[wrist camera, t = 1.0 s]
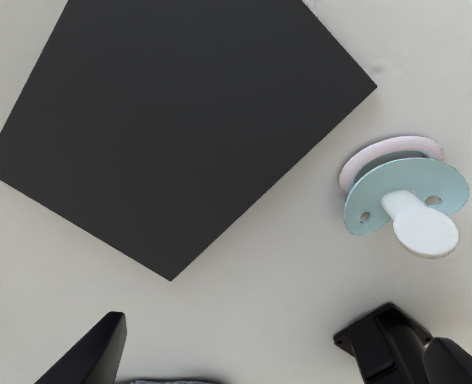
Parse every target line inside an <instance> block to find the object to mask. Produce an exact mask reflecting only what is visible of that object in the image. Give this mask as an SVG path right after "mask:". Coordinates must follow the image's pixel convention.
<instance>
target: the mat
mask: <svg viewBox="0 0 472 384" xmlns="http://www.w3.org/2000/svg"><path fill="white" fill-rule="evenodd" d="M376 88H377V85H376V84H375V83H374V82H373V81H372V80H371V78H370V77H369V76H368V75H367V74H366V73H365V72H364V70H363V69H362V68H361V67H360V66H359V65H358V64H357V63H356V61H355V60H354V59H353V58H352V57H351V56H350V55H349V54H348V52H347V51H346V50H345V49H344V48H343V47H342V46H341V44H340V43H339V42H338V41H337V40H336V39H335V38H334V37H333V35H332V34H331V33H330V32H329V31H328V30H327V29H326V28H325V26H324V25H323V24H322V23H321V22H320V21H319V20H318V18H317V17H316V16H315V15H314V14H313V13H312V12H311V11H310V9H309V8H308V7H307V6H306V5H305V4H304V3H303V2H302V0H68V2H67V4H66V6H65V8H64V10H63V12H62V14H61V16H60V18H59V20H58V22H57V23H56V25H55V27H54V29H53V31H52V33H51V35H50V37H49V39H48V41H47V43H46V45H45V47H44V49H43V51H42V53H41V55H40V57H39V59H38V61H37V63H36V64H35V66H34V68H33V70H32V72H31V74H30V76H29V78H28V80H27V82H26V84H25V86H24V88H23V90H22V92H21V94H20V96H19V98H18V100H17V102H16V103H15V105H14V107H13V109H12V111H11V113H10V115H9V117H8V119H7V121H6V123H5V125H4V127H3V129H2V131H1V133H0V180H1V181H3V182H5V183H6V184H8V185H10V186H11V187H13V188H15V189H16V190H18V191H20V192H21V193H23V194H25V195H26V196H28V197H30V198H31V199H33V200H35V201H37V202H38V203H40V204H42V205H43V206H45V207H47V208H48V209H50V210H52V211H53V212H55V213H57V214H58V215H60V216H62V217H63V218H65V219H67V220H68V221H70V222H72V223H73V224H75V225H77V226H78V227H80V228H82V229H83V230H85V231H87V232H88V233H90V234H92V235H93V236H95V237H97V238H98V239H100V240H102V241H103V242H105V243H107V244H109V245H110V246H112V247H114V248H115V249H117V250H119V251H120V252H122V253H124V254H125V255H127V256H129V257H130V258H132V259H134V260H135V261H137V262H139V263H140V264H142V265H144V266H145V267H147V268H149V269H150V270H152V271H154V272H155V273H157V274H159V275H160V276H162V277H164V278H165V279H167V280H169V281H172V280H173V279H174V278H175V277H176V276H177V275H178V274H179V273H180V272H182V271H183V270H184V269H185V268H186V267H187V266H188V265H189V264H190V263H191V262H192V261H193V260H194V259H195V258H196V257H197V256H199V255H200V254H201V253H202V252H203V251H204V250H205V249H206V248H207V247H208V246H209V245H210V244H211V243H212V242H213V241H214V240H216V239H217V238H218V237H219V236H220V235H221V234H222V233H223V232H224V231H225V230H226V229H227V228H228V227H229V226H230V225H231V224H232V223H234V222H235V221H236V220H237V219H238V218H239V217H240V216H241V215H242V214H243V213H244V212H245V211H246V210H247V209H248V208H249V207H251V206H252V205H253V204H254V203H255V202H256V201H257V200H258V199H259V198H260V197H261V196H262V195H263V194H264V193H265V192H266V191H268V190H269V189H270V188H271V187H272V186H273V185H274V184H275V183H276V182H277V181H278V180H279V179H280V178H281V177H282V176H283V175H284V174H286V173H287V172H288V171H289V170H290V169H291V168H292V167H293V166H294V165H295V164H296V163H297V162H298V161H299V160H300V159H301V158H303V157H304V156H305V155H306V154H307V153H308V152H309V151H310V150H311V149H312V148H313V147H314V146H315V145H316V144H317V143H318V142H320V141H321V140H322V139H323V138H324V137H325V136H326V135H327V134H328V133H329V132H330V131H331V130H332V129H333V128H334V127H335V126H337V125H338V124H339V123H340V122H341V121H342V120H343V119H344V118H345V117H346V116H347V115H348V114H349V113H350V112H351V111H352V110H353V109H355V108H356V107H357V106H358V105H359V104H360V103H361V102H362V101H363V100H364V99H365V98H366V97H367V96H368V95H369V94H370V93H372V92H373V91H374V90H375V89H376Z"/></svg>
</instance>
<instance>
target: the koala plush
mask: <svg viewBox="0 0 472 384" xmlns="http://www.w3.org/2000/svg"><path fill="white" fill-rule="evenodd" d="M130 384H211V383H204V382H198V381H193V382H192V381H177V382H168V383H167V382H164V383H157V382H150V381H146V380H145V381H143V380H141V381H136V382H135V383H133V382H131V383H130ZM213 384H216V383H213Z"/></svg>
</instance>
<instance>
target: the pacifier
mask: <svg viewBox="0 0 472 384" xmlns="http://www.w3.org/2000/svg"><path fill="white" fill-rule="evenodd" d="M407 150H412V151H418V152H422V153H424V154H425V156H426V158H403V159H398V160H394V161H390V162H387V163H384V164H382V165H380V166H378V167H376V168H374V169H372V170H371V171H369V172H368V173H367V174H365V175H364V176H363V177H362V178H361V179H360V180H359V181H358V182H357V183H356V184H355V185H354V180H355V177H356V175H357V173H358V172H359V171H360V170H361V168H362V167H363V166H365V165H366V164H368V163H369V162H370V161H372V160H374V159H376V158H378V157H380V156H382V155H385V154H388V153H391V152H397V151H407ZM443 159H444V155H443V150H442V148H441V147H440V146H439V145H438V143H437V142H435V141H433V140H431V139H429V138H424V137H419V136H400V137H395V138H390V139H386V140H383V141H380V142H377V143H374V144H372V145H370V146H368V147H367V148H365V149H363V150H361V151H360V152H358V153H357V154H356V155H354V156H353V157H352V158H351V159H350V160H349V161H348V162H347V163H346V164H345V166H344V167H343V169H342V171H341V174H340V178H339V184H340V186H341V189H342V190H343V191H344V192H345V193H346V194H347V195H348V197H347V200H346V203H345V207H344V215H343V218H344V223H345V226H346V228H347V230H348V231H349V232H350V233H351V234H352V235H356V236H362V235H366V234H369V233H371V232H374V231H375V230H377V229H379V228H380V227H382V226H383V225H384V224H386V223H387V222H388V221H389V220H390V219H392V221H393V230H394V234H395V236H396V239H397V240H398V242H399V243H400V245H401V246H402V247H403V248H404V249H406V250H407V251H408V252H410V253H411V254H413V255H415V256H418V257H421V258H426V259H437V258H441V257H444V256H446V255H448V254H450V253H451V252H452V251H453V250H454V249H455V248H456V246H457V244H458V241H459V231H458V228H457V226H456V225H455V223H454V222H453V221H452V220H451V219H450V218H449V217H448V216H447V215H449V214H452V213H454V212H456V211H458V210H459V209H460V208H462V207H463V206H464V204H465V203H466V202H467V200H468V197H469V188H468V184H467V182H466V180H465V179H464V177H463V176H462V175H461V174H460V173H459V172H458V171H457V170H456V169H455V168H453V167H451V166H450V165H448V164H446V163H444V162H443ZM430 196H437V197H439V199H440V200H439V202H438V203H437V204H435V205H427V204H425V200H426V198H428V197H430ZM364 212H369V217H368V219H367V220H365V221H364V222H360V217H361V215H362V214H363V213H364Z"/></svg>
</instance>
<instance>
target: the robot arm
mask: <svg viewBox="0 0 472 384" xmlns="http://www.w3.org/2000/svg"><path fill="white" fill-rule="evenodd" d="M126 336H127V327H126V318H125V314H124V313H123V312H113V311H112V312H109V313H107V314H106V315H105V316H104V317H103V318H102V319H101V320H100V321H99V322H98V323H97V324H96V325H95V326H94V327H93V328H92V329H91V330H90V331H89V332H88V333H86V334H85V335H84V336H83V337H82V338H81V339H80V340H79V341H78V342H77V343H76V344H75V345H74V346H73V347H72V348H71V349H70V350H69V351H68V352H67V353H66V354H65V355H64V356H62V357H61V358H60V359H59V360H58V361H57V362H56V363H55V364H54V365H53V366H52V367H51V368H50V369H49V370H48V371H47V372H46V373H45V374H44V375H43V376H42V377H41V378H40V379H39V380H37V381H36V382H35V383H34V384H114V382H115V378H116V374H117V370H118V367H119V363H120V359H121V356H122V352H123V348H124V345H125V341H126ZM333 340H334V344H335V345H337V346H338V347H340V348H341V349H343V350H344V351H346V352H347V353H349V354H350V355H352V356H353V357H355V358H356V361H357V364H358V367H359V370H360V373H361V376H362V379H363V382H364V384H472V356H471V355H469V354H468V353H467V352H466V351H465V350H463V349H462V348H461V347H460V346H459V345H457V344H456V343H455V342H454V341H452V340H451V339H449V338H442V337H435V338H433V336H432V335H431V333H430V332H429V331H427V330H426V329H425V328H423V327H422V326H421V325H420V324H418V323H417V322H416V321H415V320H413V319H412V318H411V317H410V316H408V315H407V314H406V313H404V312H403V311H402V310H401V309H399V308H398V307H397V306H396V305H394V304H392V303H389V304H386V305H384V306H383V307H381V308H379V309H378V310H376V311H375V312H373V313H371V314H370V315H368V316H367V317H365V318H363V319H362V320H360V321H358V322H357V323H355V324H354V325H352V326H350V327H349V328H347V329H345V330H344V331H342V332H341V333H339V334H337V335H336V336H334V338H333ZM428 343H429V345H428V347H427V348H425V347H424V345H426V344H428Z"/></svg>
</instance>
